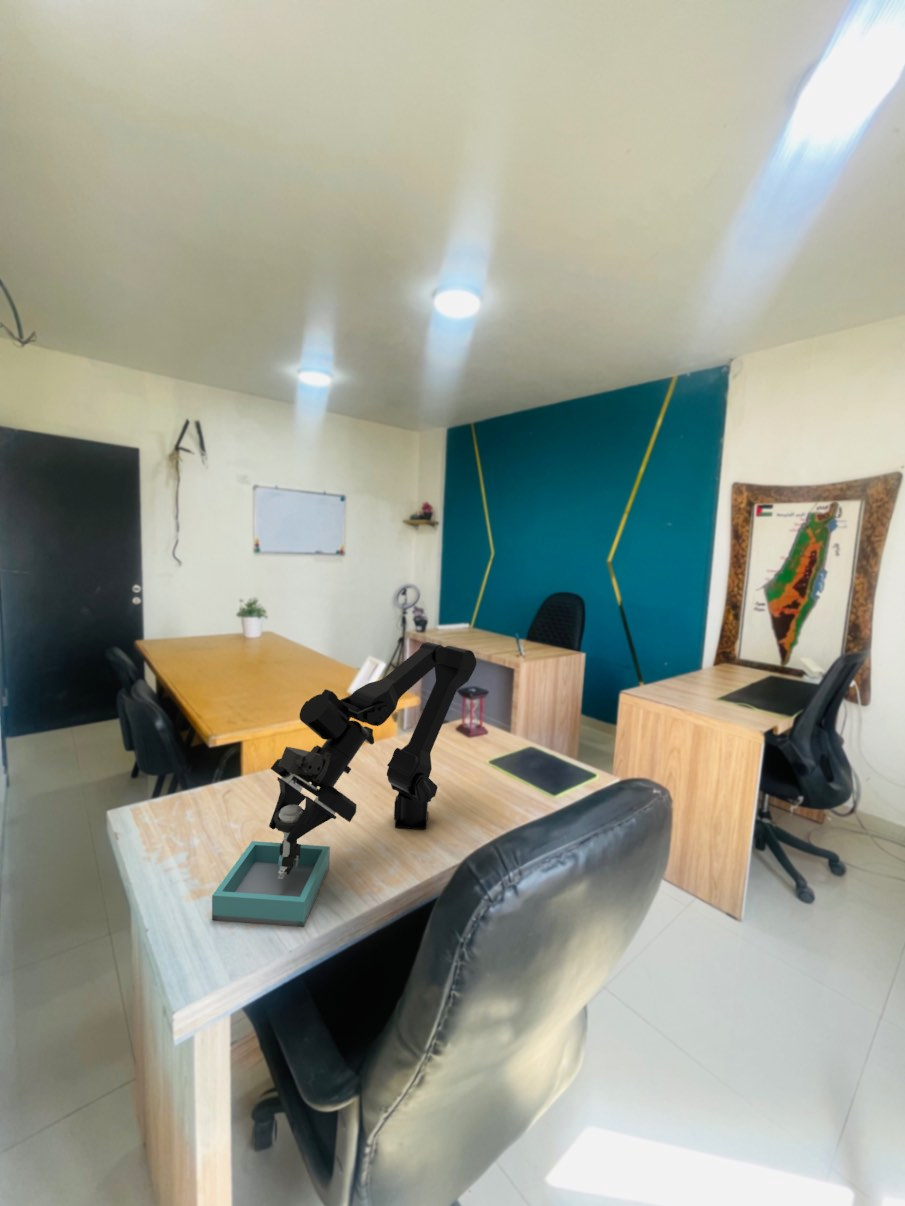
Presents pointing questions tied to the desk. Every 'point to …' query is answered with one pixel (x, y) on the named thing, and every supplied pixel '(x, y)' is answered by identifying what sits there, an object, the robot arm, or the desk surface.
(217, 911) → the tray
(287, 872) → the push button
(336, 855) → the desk surface
